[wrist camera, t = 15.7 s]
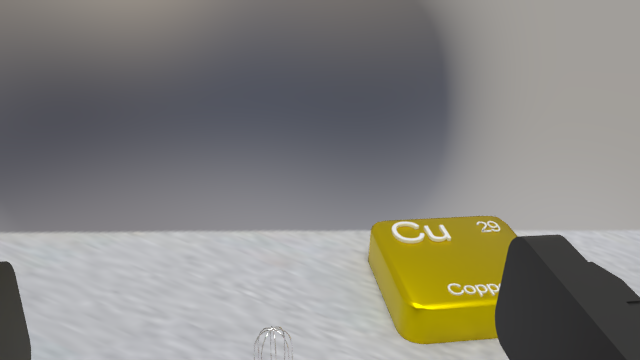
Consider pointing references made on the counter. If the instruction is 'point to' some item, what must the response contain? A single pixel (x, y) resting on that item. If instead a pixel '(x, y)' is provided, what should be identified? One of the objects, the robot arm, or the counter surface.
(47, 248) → the counter surface
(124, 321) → the counter surface
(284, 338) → the utensil holder
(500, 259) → the element tile
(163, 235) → the counter surface
